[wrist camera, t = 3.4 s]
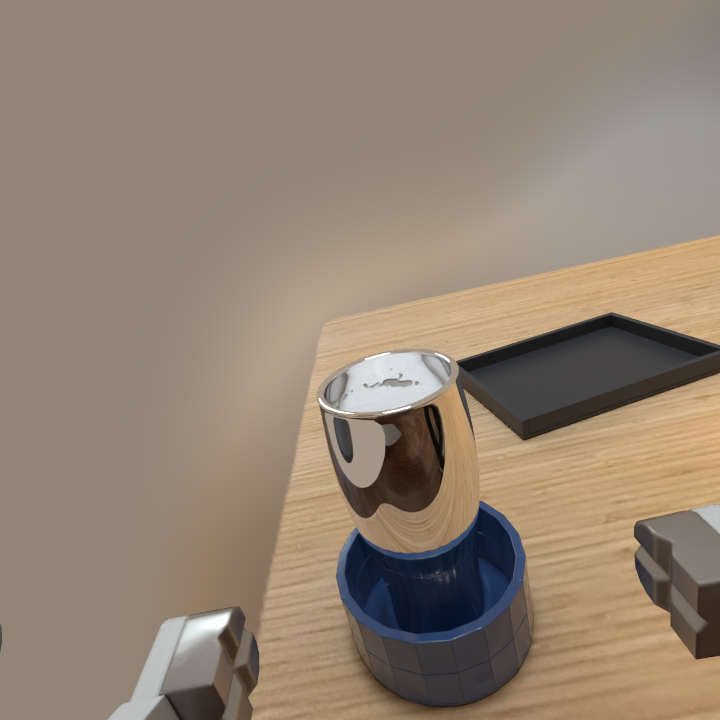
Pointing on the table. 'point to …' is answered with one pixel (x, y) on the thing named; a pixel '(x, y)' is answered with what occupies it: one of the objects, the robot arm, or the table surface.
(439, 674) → the bowl
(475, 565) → the silver goblet
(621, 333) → the tray
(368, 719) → the table surface
